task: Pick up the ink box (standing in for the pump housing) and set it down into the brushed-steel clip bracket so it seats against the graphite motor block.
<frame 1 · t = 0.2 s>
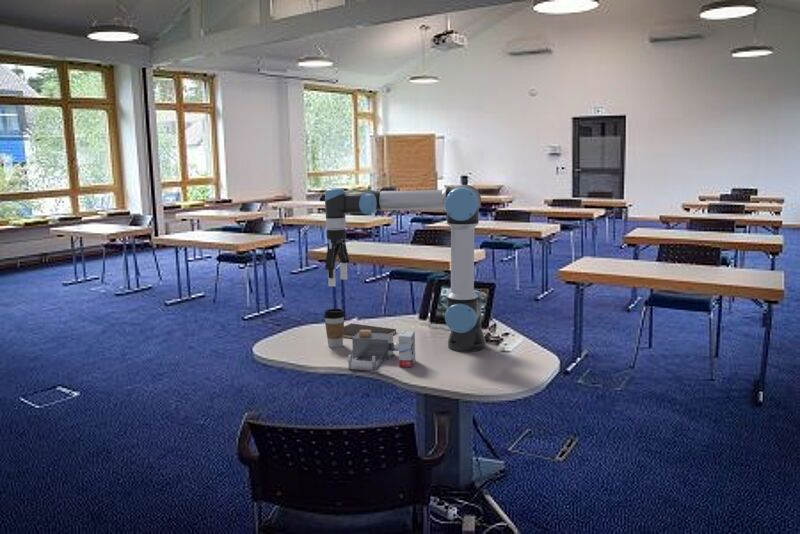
hand: (338, 282, 261), 28 cm above the table, fingers open, 13 cm apart
hardcover book: (364, 335, 289), on the table
coffee cup: (335, 345, 273), on the table
ink box: (407, 364, 248), on the table
clip bracket: (366, 363, 249), on the table
motor block: (373, 355, 258), on the table
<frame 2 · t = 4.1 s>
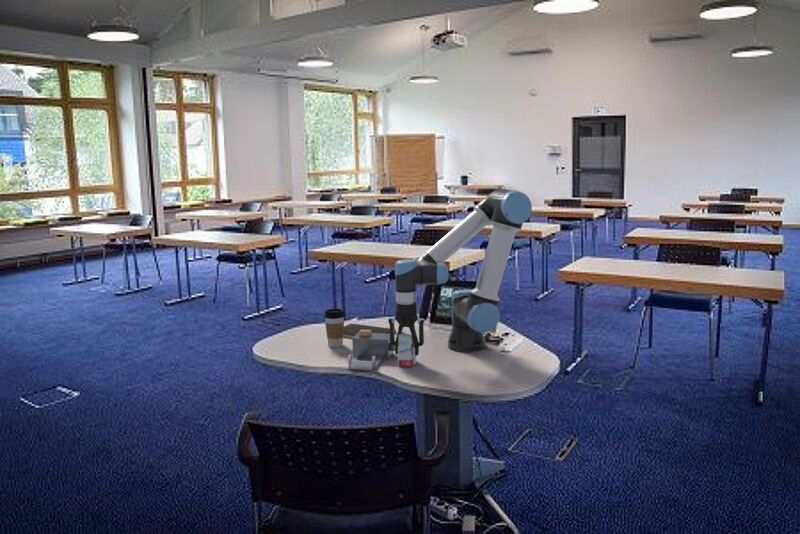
hand: (407, 362, 248), 0 cm above the table, fingers closed on ink box, 5 cm apart
ink box: (407, 364, 248), on the table, touching gripper
everything else where it was.
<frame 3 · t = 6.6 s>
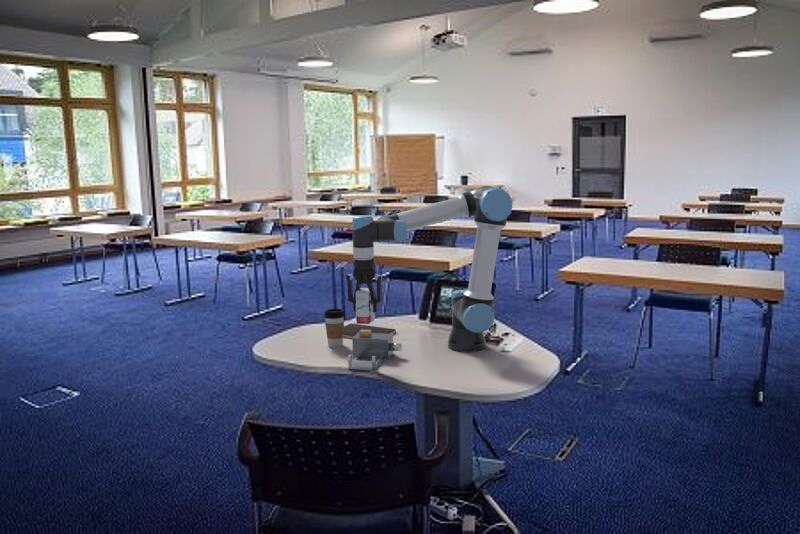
hand: (365, 320, 246), 17 cm above the table, fingers closed on ink box, 5 cm apart
ink box: (365, 321, 246), point 16 cm above the table, touching gripper
everything else where it was.
when the fingers open (3 cm above the table, at t = 9.4 s): ink box drops 2 cm, resting in clip bracket.
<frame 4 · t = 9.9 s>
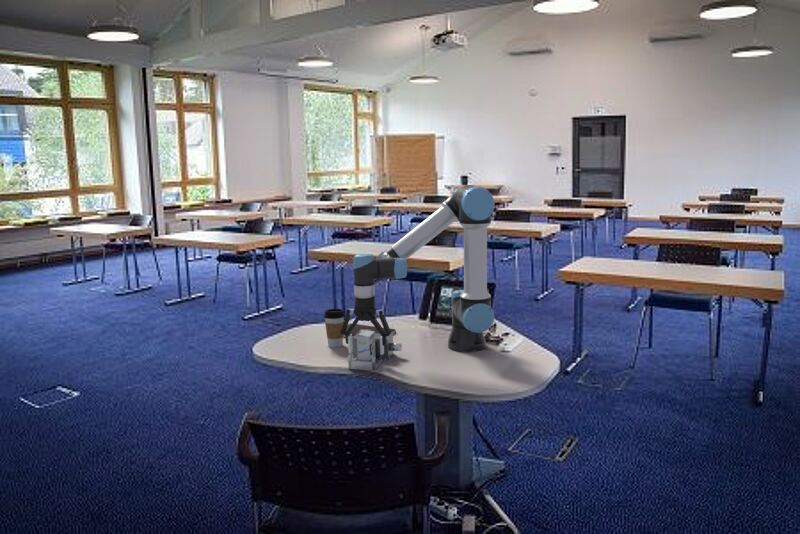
hand: (366, 352, 249), 4 cm above the table, fingers open, 11 cm apart
ink box: (366, 364, 249), resting in clip bracket
everything else where it was.
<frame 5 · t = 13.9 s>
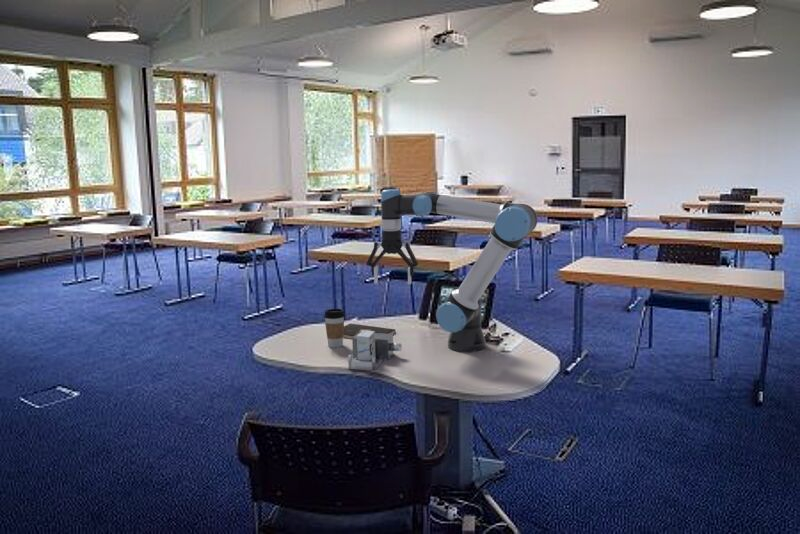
hand: (392, 283, 262), 27 cm above the table, fingers open, 13 cm apart
nothing on the table moved.
at the end: ink box inside the target area (0.1 cm from its centre), resting in clip bracket; ink box tilted 0°; the gripper is holding nothing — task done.
